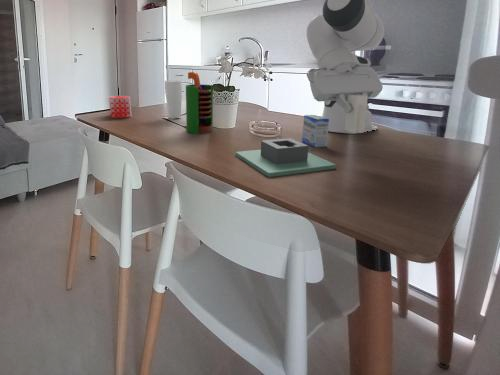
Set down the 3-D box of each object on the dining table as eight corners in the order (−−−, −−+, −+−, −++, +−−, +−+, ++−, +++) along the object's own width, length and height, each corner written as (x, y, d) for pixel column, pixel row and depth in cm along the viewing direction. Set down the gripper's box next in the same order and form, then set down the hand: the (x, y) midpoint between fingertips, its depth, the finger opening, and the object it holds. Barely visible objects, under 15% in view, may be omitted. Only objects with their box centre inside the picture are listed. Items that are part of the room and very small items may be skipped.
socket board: (294, 149, 110) (295, 132, 109) (335, 168, 93) (337, 149, 92) (235, 155, 103) (235, 137, 101) (268, 177, 86) (269, 156, 84)
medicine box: (301, 141, 120) (303, 115, 117) (313, 140, 122) (315, 114, 119) (314, 147, 113) (317, 119, 110) (326, 146, 115) (329, 118, 112)
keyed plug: (355, 128, 99) (358, 94, 96) (366, 132, 96) (370, 96, 92) (344, 129, 98) (347, 95, 95) (355, 133, 94) (359, 97, 91)
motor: (207, 134, 127) (205, 73, 120) (182, 132, 129) (179, 72, 122) (215, 128, 137) (214, 72, 130) (192, 127, 138) (190, 71, 131)
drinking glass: (164, 118, 153) (161, 81, 148) (170, 116, 159) (168, 80, 154) (179, 119, 152) (178, 81, 147) (185, 117, 158) (183, 80, 153)
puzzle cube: (131, 117, 156) (129, 98, 153) (111, 117, 153) (109, 98, 151) (131, 114, 163) (129, 95, 160) (112, 114, 161) (110, 96, 158)
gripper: (309, 60, 93) (329, 105, 88) (374, 59, 101) (395, 100, 96) (299, 77, 98) (317, 121, 94) (361, 75, 106) (381, 115, 101)
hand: (357, 110), depth 95 cm, fingers closed on keyed plug, 3 cm apart
